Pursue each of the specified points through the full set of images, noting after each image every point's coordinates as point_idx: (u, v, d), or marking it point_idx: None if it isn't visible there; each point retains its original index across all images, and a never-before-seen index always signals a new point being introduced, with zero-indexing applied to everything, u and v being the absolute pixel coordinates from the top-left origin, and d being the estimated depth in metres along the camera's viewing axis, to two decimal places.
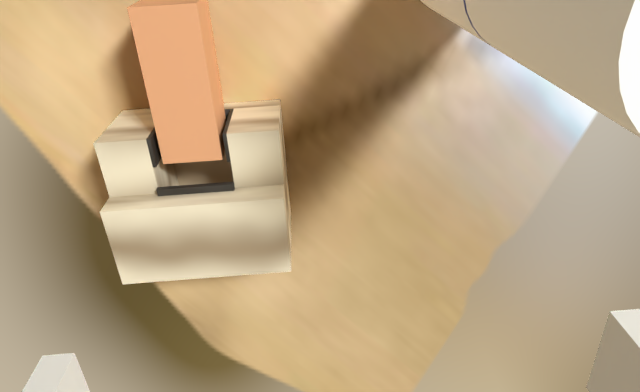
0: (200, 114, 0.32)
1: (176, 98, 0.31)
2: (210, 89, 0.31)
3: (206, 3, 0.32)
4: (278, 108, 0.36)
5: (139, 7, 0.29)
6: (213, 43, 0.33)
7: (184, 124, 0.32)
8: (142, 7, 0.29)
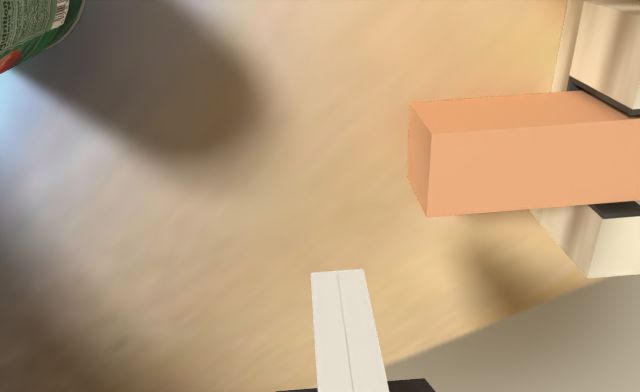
0: (588, 142, 0.21)
1: (554, 172, 0.21)
2: (554, 125, 0.20)
3: (422, 106, 0.23)
4: (591, 5, 0.22)
5: (428, 203, 0.22)
6: (474, 100, 0.24)
7: (595, 165, 0.21)
8: (428, 200, 0.22)
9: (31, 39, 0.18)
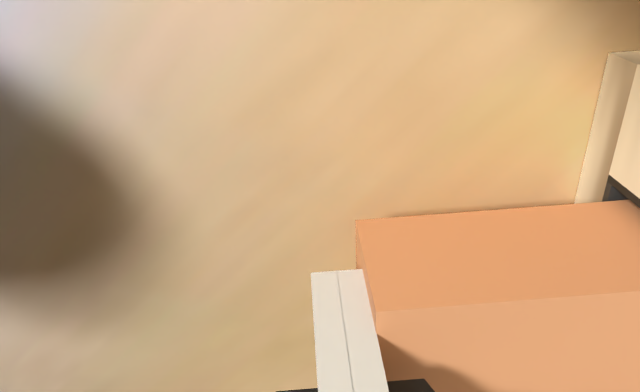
0: None
1: (591, 361, 0.13)
2: (593, 293, 0.12)
3: (374, 229, 0.14)
4: None
5: None
6: (459, 217, 0.15)
7: None
8: None
9: None
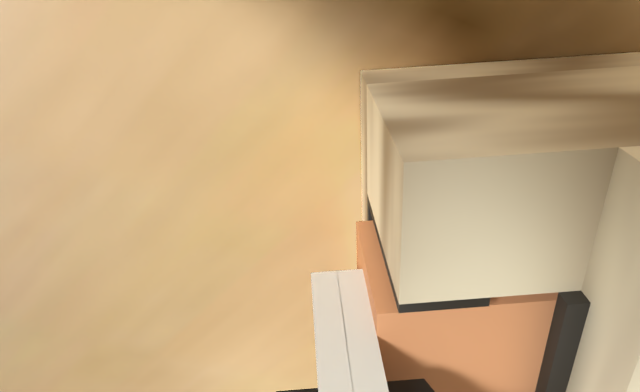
0: None
1: None
2: None
3: (375, 231, 0.14)
4: (370, 94, 0.13)
5: None
6: None
7: None
8: None
9: None
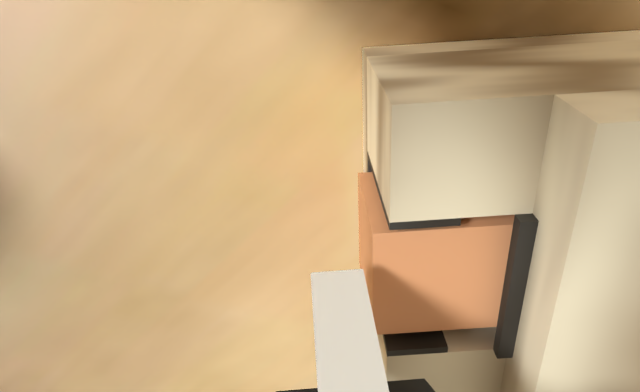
0: None
1: None
2: None
3: (373, 179, 0.17)
4: (369, 64, 0.16)
5: None
6: None
7: None
8: (374, 314, 0.16)
9: None
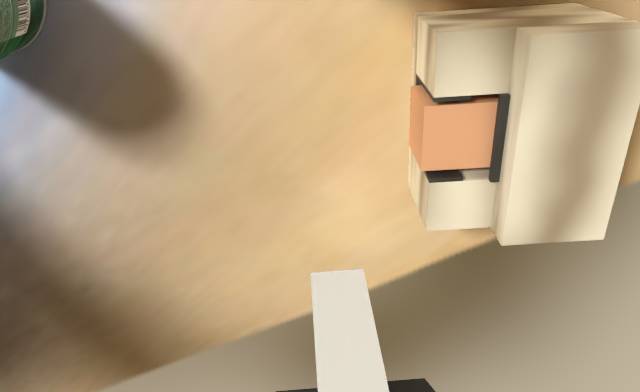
0: None
1: None
2: None
3: (420, 88, 0.30)
4: (420, 20, 0.29)
5: (422, 160, 0.29)
6: None
7: None
8: (422, 157, 0.29)
9: None
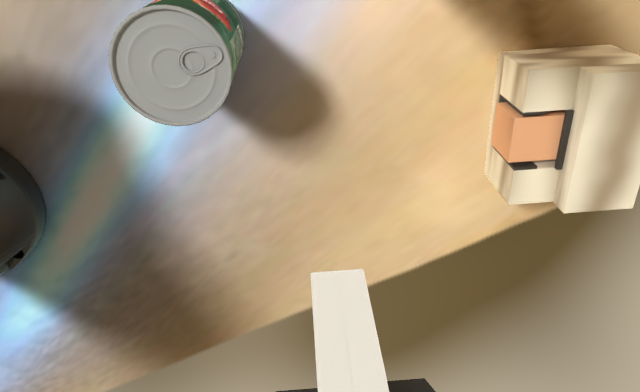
0: None
1: None
2: None
3: (504, 104, 0.43)
4: (507, 58, 0.42)
5: (509, 155, 0.42)
6: None
7: None
8: (510, 153, 0.42)
9: None
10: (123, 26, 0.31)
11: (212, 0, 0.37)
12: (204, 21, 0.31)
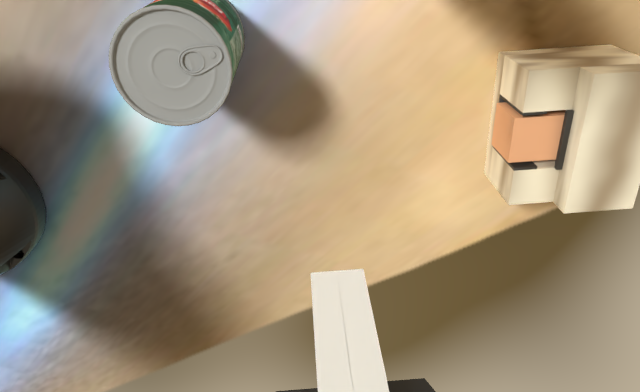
0: None
1: None
2: None
3: (504, 104, 0.43)
4: (507, 58, 0.42)
5: (509, 155, 0.42)
6: None
7: None
8: (510, 153, 0.42)
9: None
10: (123, 26, 0.31)
11: (212, 0, 0.37)
12: (204, 21, 0.31)
